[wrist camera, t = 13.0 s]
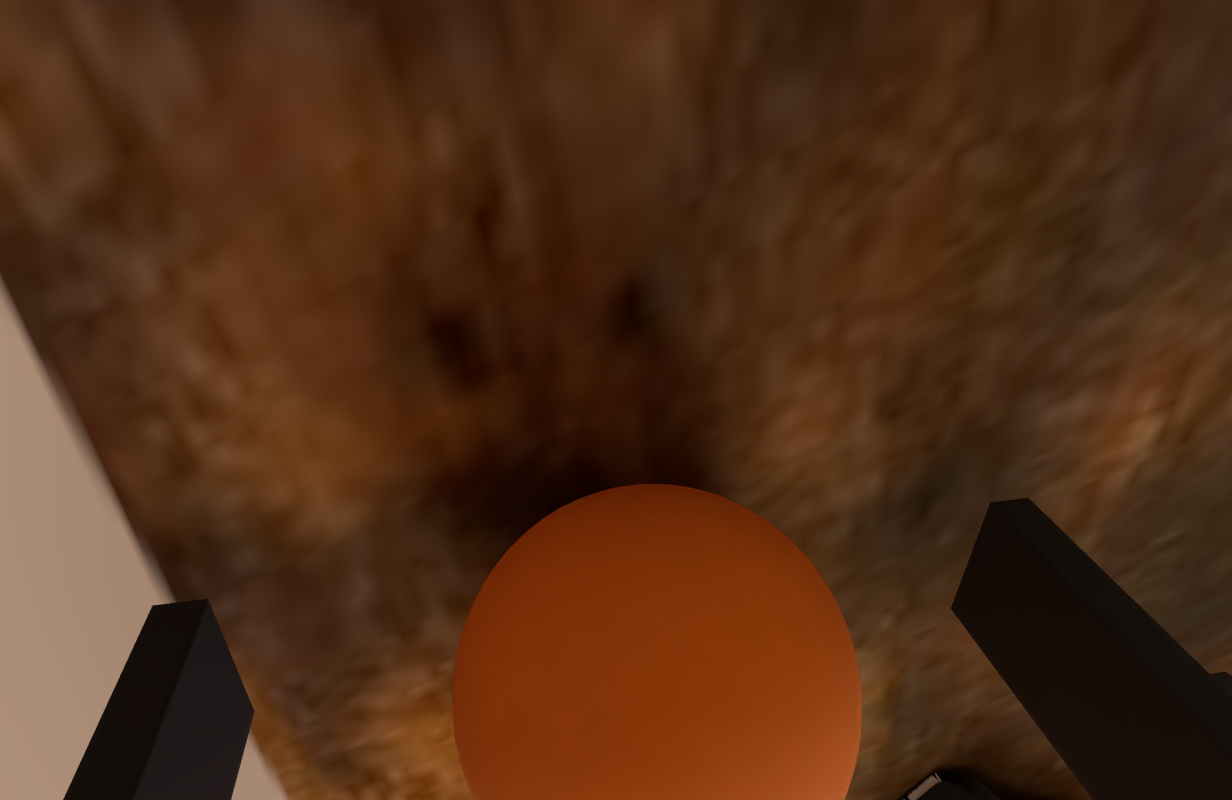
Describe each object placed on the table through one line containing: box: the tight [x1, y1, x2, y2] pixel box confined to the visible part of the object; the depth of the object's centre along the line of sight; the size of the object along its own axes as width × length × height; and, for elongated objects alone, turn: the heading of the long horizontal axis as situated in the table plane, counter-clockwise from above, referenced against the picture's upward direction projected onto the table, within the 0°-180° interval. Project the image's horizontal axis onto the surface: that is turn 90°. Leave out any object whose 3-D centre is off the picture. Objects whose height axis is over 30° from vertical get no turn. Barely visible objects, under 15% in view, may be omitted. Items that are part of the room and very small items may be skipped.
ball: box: [452, 484, 862, 800], centre depth 11 cm, size 6×6×6 cm
